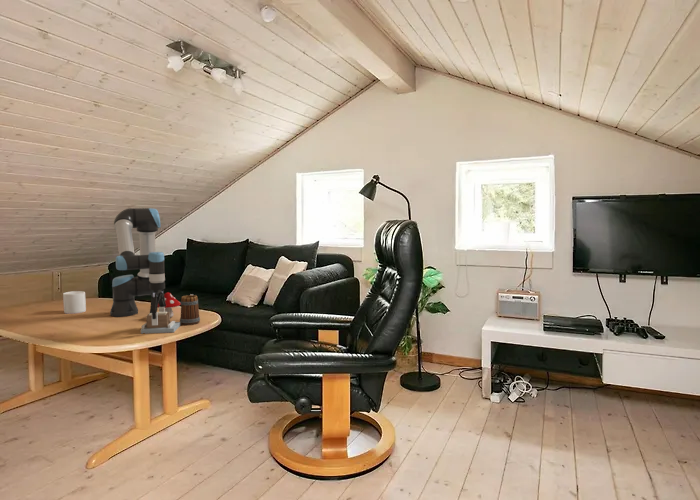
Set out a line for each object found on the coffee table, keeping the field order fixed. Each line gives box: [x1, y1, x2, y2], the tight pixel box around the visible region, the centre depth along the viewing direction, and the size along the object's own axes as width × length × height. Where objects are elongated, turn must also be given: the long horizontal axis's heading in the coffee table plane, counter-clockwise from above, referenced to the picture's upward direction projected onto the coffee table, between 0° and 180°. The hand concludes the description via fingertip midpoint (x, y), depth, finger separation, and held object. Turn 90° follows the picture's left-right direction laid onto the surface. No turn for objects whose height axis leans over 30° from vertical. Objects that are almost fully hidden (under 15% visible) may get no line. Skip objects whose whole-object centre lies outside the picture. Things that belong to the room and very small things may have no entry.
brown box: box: [145, 311, 171, 328], centre depth 239 cm, size 7×10×7 cm
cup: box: [62, 290, 87, 315], centre depth 284 cm, size 12×12×12 cm
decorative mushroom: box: [157, 291, 181, 319], centre depth 267 cm, size 14×14×15 cm
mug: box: [179, 293, 201, 326], centre depth 257 cm, size 16×11×15 cm
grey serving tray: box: [140, 320, 181, 335], centre depth 241 cm, size 15×16×4 cm
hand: (158, 322), depth 239 cm, fingers open, 13 cm apart
